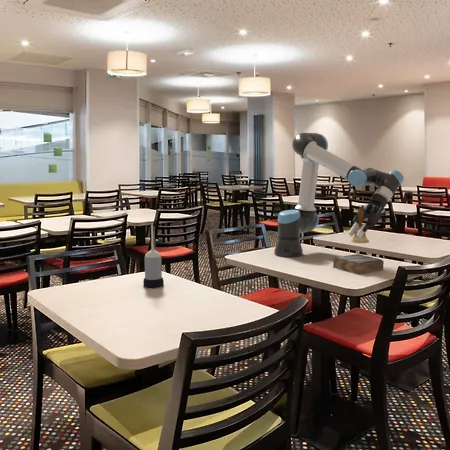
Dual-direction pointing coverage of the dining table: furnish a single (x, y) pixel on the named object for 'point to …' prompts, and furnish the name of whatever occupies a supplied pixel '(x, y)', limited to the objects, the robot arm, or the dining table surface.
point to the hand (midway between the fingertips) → (354, 235)
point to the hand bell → (356, 238)
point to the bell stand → (358, 263)
